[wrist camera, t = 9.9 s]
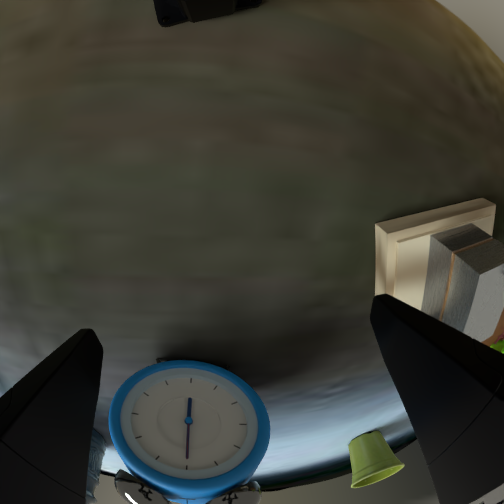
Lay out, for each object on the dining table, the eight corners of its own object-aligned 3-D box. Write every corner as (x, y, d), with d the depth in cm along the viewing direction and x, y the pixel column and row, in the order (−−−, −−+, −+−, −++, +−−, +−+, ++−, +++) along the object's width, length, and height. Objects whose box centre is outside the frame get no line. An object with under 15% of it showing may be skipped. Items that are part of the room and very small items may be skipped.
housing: (420, 313, 22) (457, 362, 17) (430, 235, 19) (485, 279, 13) (458, 297, 22) (496, 339, 16) (471, 223, 19) (524, 259, 13)
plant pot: (396, 428, 40) (411, 464, 32) (355, 452, 42) (367, 487, 35) (374, 421, 36) (391, 464, 29) (329, 447, 39) (340, 489, 31)
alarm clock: (261, 361, 26) (285, 510, 13) (251, 396, 29) (266, 522, 15) (125, 347, 24) (89, 493, 11) (133, 385, 27) (111, 509, 13)
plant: (415, 373, 32) (450, 435, 22) (507, 263, 25) (562, 311, 15) (461, 387, 38) (486, 429, 28) (528, 308, 31) (562, 345, 21)
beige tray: (375, 223, 20) (389, 235, 18) (482, 197, 20) (498, 205, 18) (373, 319, 25) (383, 335, 23) (469, 282, 25) (481, 293, 23)
